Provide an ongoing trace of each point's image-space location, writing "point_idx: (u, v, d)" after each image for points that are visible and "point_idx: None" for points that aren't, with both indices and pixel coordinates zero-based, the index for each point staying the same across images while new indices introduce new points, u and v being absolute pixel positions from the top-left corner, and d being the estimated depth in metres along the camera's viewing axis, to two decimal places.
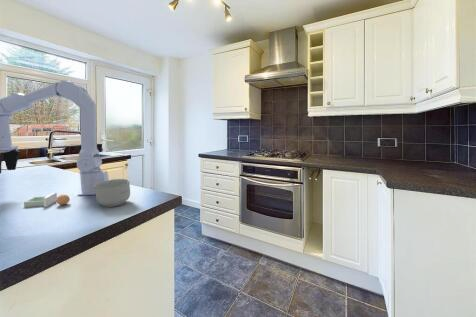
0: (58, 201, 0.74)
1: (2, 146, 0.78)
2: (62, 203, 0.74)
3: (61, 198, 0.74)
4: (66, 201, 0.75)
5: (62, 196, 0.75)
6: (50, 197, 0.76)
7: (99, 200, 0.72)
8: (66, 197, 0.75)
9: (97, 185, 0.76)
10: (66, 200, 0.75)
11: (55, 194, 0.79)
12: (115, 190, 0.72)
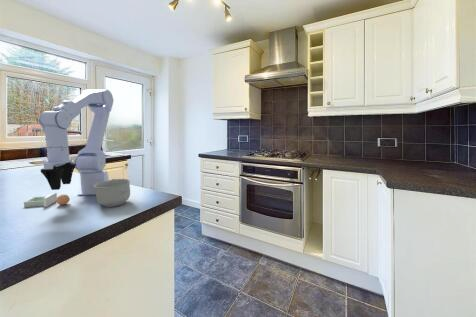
0: (58, 201, 0.74)
1: (61, 159, 0.72)
2: (62, 203, 0.74)
3: (61, 198, 0.74)
4: (66, 201, 0.75)
5: (62, 196, 0.75)
6: (50, 197, 0.76)
7: (99, 200, 0.72)
8: (66, 197, 0.75)
9: (97, 185, 0.76)
10: (66, 200, 0.75)
11: (55, 194, 0.79)
12: (115, 190, 0.72)
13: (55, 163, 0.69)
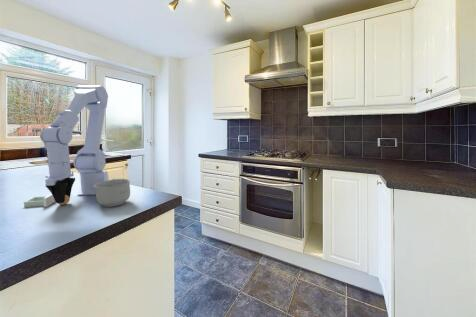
0: None
1: (63, 174, 0.73)
2: (62, 203, 0.74)
3: None
4: (66, 201, 0.75)
5: None
6: (50, 197, 0.76)
7: (99, 200, 0.72)
8: (66, 197, 0.75)
9: (97, 185, 0.76)
10: (66, 200, 0.75)
11: None
12: (115, 190, 0.72)
13: (57, 179, 0.70)
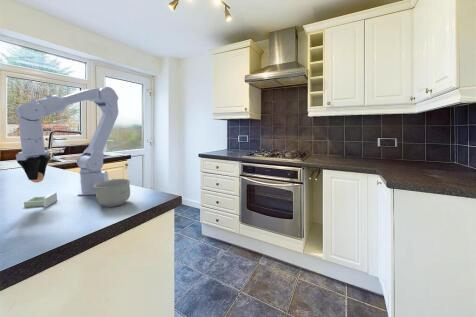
0: None
1: (36, 151, 0.73)
2: (35, 180, 0.74)
3: None
4: (39, 178, 0.75)
5: None
6: (50, 197, 0.76)
7: (99, 200, 0.72)
8: (40, 175, 0.75)
9: (97, 185, 0.76)
10: (40, 178, 0.75)
11: (55, 194, 0.79)
12: (115, 190, 0.72)
13: (29, 155, 0.70)
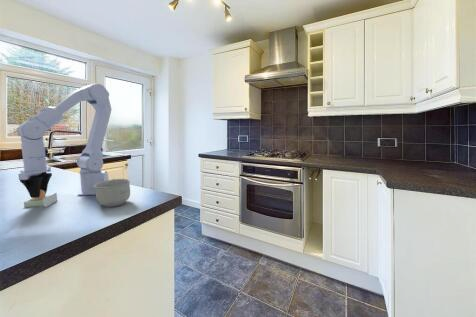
0: None
1: (38, 169, 0.74)
2: (37, 198, 0.75)
3: None
4: (41, 196, 0.76)
5: None
6: (50, 197, 0.76)
7: (99, 200, 0.72)
8: (42, 192, 0.76)
9: (97, 185, 0.76)
10: (42, 195, 0.76)
11: (55, 194, 0.79)
12: (115, 190, 0.72)
13: (31, 174, 0.71)
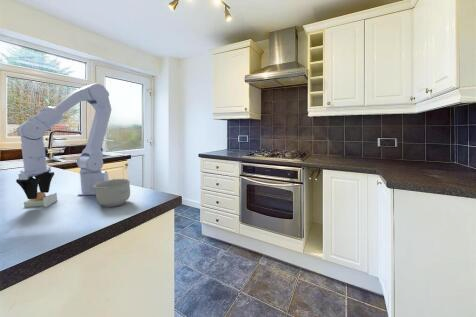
0: None
1: (38, 169, 0.74)
2: (37, 200, 0.75)
3: None
4: (42, 198, 0.76)
5: (38, 193, 0.76)
6: (50, 197, 0.76)
7: (99, 200, 0.72)
8: (42, 194, 0.76)
9: (97, 185, 0.76)
10: (42, 198, 0.76)
11: (55, 194, 0.79)
12: (115, 190, 0.72)
13: (31, 174, 0.71)
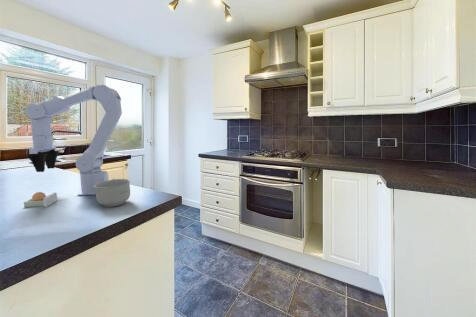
0: (33, 198, 0.75)
1: (45, 146, 0.83)
2: (37, 200, 0.75)
3: (36, 195, 0.75)
4: (42, 198, 0.76)
5: (38, 193, 0.76)
6: (50, 197, 0.76)
7: (99, 200, 0.72)
8: (42, 194, 0.76)
9: (97, 185, 0.76)
10: (42, 197, 0.76)
11: (55, 194, 0.79)
12: (115, 190, 0.72)
13: (39, 149, 0.81)
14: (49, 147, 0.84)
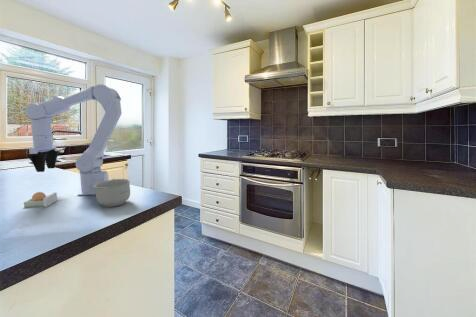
0: (33, 198, 0.75)
1: (45, 146, 0.84)
2: (37, 200, 0.75)
3: (36, 195, 0.75)
4: (42, 198, 0.76)
5: (37, 193, 0.75)
6: (50, 197, 0.76)
7: (99, 200, 0.72)
8: (42, 194, 0.76)
9: (97, 185, 0.76)
10: (42, 197, 0.76)
11: (55, 194, 0.79)
12: (115, 190, 0.72)
13: (40, 149, 0.81)
14: (49, 147, 0.85)
